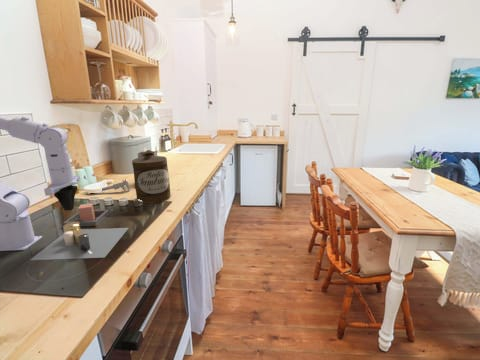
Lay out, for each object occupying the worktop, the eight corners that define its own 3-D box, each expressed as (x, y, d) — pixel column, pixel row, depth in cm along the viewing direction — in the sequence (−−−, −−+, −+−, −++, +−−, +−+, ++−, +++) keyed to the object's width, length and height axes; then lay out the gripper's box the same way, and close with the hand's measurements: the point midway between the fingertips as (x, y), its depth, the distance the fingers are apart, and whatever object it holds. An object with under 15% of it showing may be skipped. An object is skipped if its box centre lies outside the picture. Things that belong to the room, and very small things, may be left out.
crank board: (30, 263, 72) (26, 247, 70) (69, 232, 89) (66, 219, 87) (105, 260, 72) (102, 244, 71) (129, 230, 89) (127, 217, 88)
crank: (63, 236, 84) (61, 223, 83) (79, 231, 87) (76, 219, 86) (78, 253, 73) (75, 240, 72) (95, 247, 76) (93, 234, 75)
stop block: (81, 224, 94) (78, 208, 92) (83, 219, 97) (80, 204, 96) (93, 222, 95) (91, 206, 93) (95, 218, 99) (92, 203, 97)
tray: (64, 229, 91) (63, 222, 90) (81, 216, 102) (80, 210, 101) (96, 228, 91) (95, 221, 91) (110, 215, 102) (109, 209, 101)
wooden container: (141, 206, 111) (134, 154, 105) (133, 196, 123) (127, 149, 117) (175, 198, 119) (170, 150, 113) (164, 190, 131) (160, 146, 125)
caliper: (130, 190, 133) (128, 178, 131) (129, 191, 132) (128, 179, 130) (85, 194, 128) (83, 182, 126) (84, 195, 127) (82, 182, 125)
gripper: (58, 173, 73) (68, 218, 77) (86, 162, 87) (93, 201, 91) (32, 174, 73) (43, 219, 76) (64, 163, 87) (72, 201, 90)
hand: (69, 209), depth 83 cm, fingers closed
